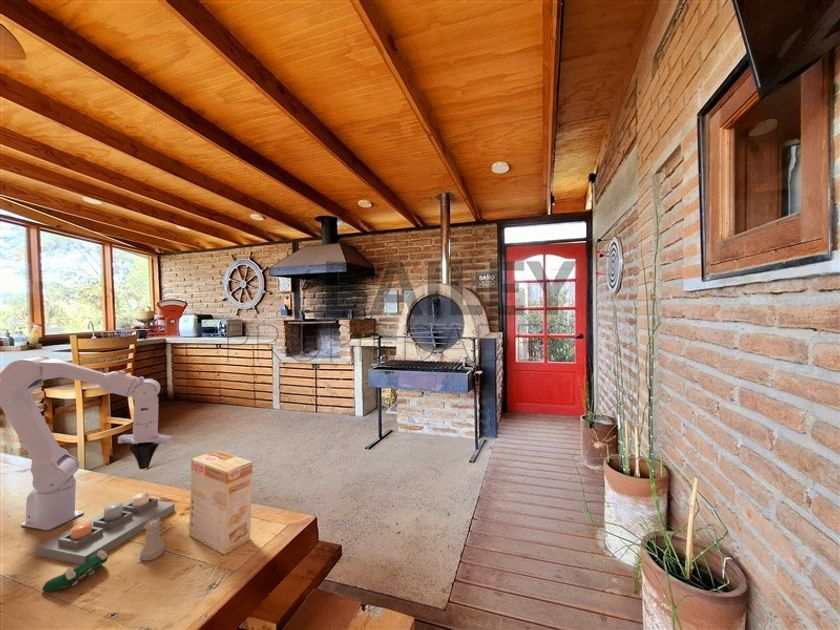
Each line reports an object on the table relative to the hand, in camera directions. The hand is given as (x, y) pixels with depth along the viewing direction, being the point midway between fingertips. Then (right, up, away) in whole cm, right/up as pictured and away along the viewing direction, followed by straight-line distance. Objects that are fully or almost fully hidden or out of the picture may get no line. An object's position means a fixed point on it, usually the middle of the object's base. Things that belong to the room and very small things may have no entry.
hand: (144, 467), depth 100 cm
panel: (+2, -10, -13) cm, 17 cm away
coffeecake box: (+31, -11, -14) cm, 36 cm away
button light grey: (+2, -7, -13) cm, 15 cm away
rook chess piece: (+19, -11, -21) cm, 30 cm away
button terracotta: (+1, -8, -20) cm, 21 cm away
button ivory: (+4, -8, -6) cm, 11 cm away
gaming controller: (+9, -11, -28) cm, 32 cm away
